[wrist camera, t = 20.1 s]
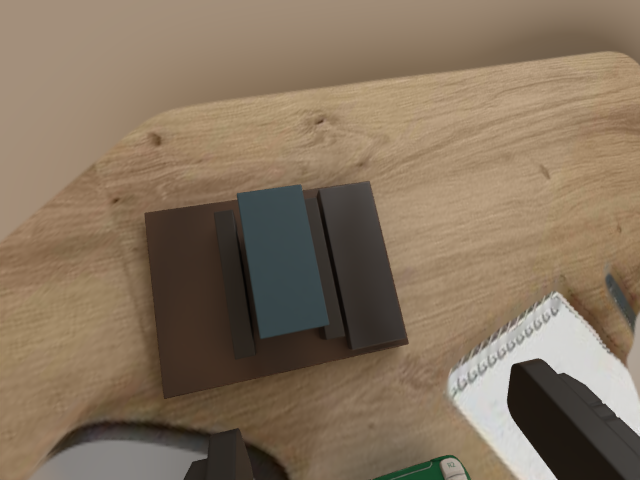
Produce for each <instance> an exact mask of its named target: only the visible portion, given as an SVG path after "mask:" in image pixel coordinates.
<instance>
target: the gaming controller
mask: <svg viewBox="0 0 640 480" xmlns="http://www.w3.org/2000/svg"><path fill="white" fill-rule="evenodd" d="M370 480H371V479H370ZM373 480H471V478H470V476H469V474H468V472H467V471H466V469H465V467H464V466H463V465H462V463H461V462H460V461H459V460H458V458H456V457H455V456H453V455H446V456H442V457H438V458H435V459H432V460H430V461H428V462H424V463H421V464H418V465H414V466H411V467H408V468H405V469H402V470H399V471H396V472H393V473H390V474H387V475H384V476H381V477H378V478H375V479H373Z"/></svg>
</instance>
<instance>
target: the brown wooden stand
mask: <svg viewBox="0 0 640 480" xmlns="http://www.w3.org/2000/svg"><path fill="white" fill-rule="evenodd" d="M303 196H304V201H305V206H306V211H307V216H308V221H309V226H310V231H311V236H312V241H313V246H314V251H315V256H316V261H317V266H318V271H319V276H320V281H321V286H322V291H323V296H324V300H325V305H326V310H327V315H328V320H329V325H327V326H322V327H318V328H313V329H308V330H303V331H298V332H293V333H289V334H284V335H279V336H274V337H269V338H265V339H260V335H259V329H258V323H257V316H256V310H255V304H254V298H253V292H252V286H251V279H250V273H249V267H248V261H247V255H246V249H245V243H244V236H243V230H242V224H241V218H240V212H239V206H238V200H232V201H225V202H218V203H211V204H204V205H197V206H190V207H183V208H176V209H169V210H162V211H155V212H148V213H145V223H146V233H147V242H148V251H149V261H150V270H151V280H152V289H153V299H154V308H155V318H156V327H157V337H158V346H159V355H160V365H161V374H162V384H163V393H164V399H166V398H171V397H175V396H180V395H184V394H189V393H193V392H198V391H202V390H207V389H211V388H215V387H220V386H224V385H229V384H233V383H238V382H242V381H247V380H251V379H256V378H260V377H265V376H269V375H273V374H278V373H282V372H287V371H291V370H296V369H300V368H305V367H309V366H314V365H318V364H323V363H327V362H331V361H336V360H340V359H345V358H349V357H354V356H358V355H363V354H367V353H372V352H376V351H381V350H385V349H389V348H394V347H398V346H403V345H407V344H409V342H408V338H407V334H406V330H405V326H404V321H403V317H402V313H401V309H400V305H399V301H398V297H397V292H396V288H395V284H394V280H393V276H392V272H391V268H390V263H389V259H388V255H387V251H386V247H385V243H384V239H383V234H382V230H381V226H380V222H379V218H378V214H377V210H376V205H375V201H374V197H373V193H372V189H371V185H370V181H366V182H359V183H352V184H345V185H338V186H331V187H324V188H317V189H310V190H303Z"/></svg>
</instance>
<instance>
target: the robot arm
mask: <svg viewBox="0 0 640 480" xmlns="http://www.w3.org/2000/svg"><path fill="white" fill-rule="evenodd" d="M507 404H508V409H509V412H510V414H511V416H512V418H513V420H514V422H515V423H516V424H517V426H518V427H519V428H520V430H521V431H522V432H523V434H524V435H525V436H526V438H527V439H528V440H529V442H530V443H531V444H532V446H533V447H534V449H535V450H536V451H537V453H538V454H539V455H540V457H541V458H542V459H543V461H544V462H545V463H546V465H547V466H548V467H549V469H550V470H551V471H552V473H553V474H554V475H555V477H556V478H557V479H558V480H640V437H639V436H638V435H637V434H636V433H635V432H634V431H633V430H632V429H631V428H630V427H629V426H628V425H627V424H626V423H625V422H624V421H623V420H621V419H620V418H619V417H616V414H615V413H614V412H613V411H612V410H611V409H610V408H609V407H608V406H607V405H606V404H603V403H602V400H600V399H599V398H598V397H597V396H596V395H595V394H594V393H593V392H592V391H591V390H590V389H589V388H588V387H587V386H586V385H585V384H583V383H581V382H579V381H578V380H576V379H574V378H572V377H571V376H569V375H567V374H565V373H561V374H557V373H556V372H555V371H554V370H553V369H552V368H551V367H550V366H549V365H548V364H547V363H546V362H545V361H544V360H542V359H539V358H538V359H533V360H529V361H524V362H520V363H516V364H513V365H512V367H511V373H510V381H509V388H508V396H507ZM184 480H253V474H252V468H251V463H250V460H249V457H248V454H247V451H246V447H245V444H244V441H243V438H242V435H241V432H240V430H239V429H238V428H237V429H233V430H229V431H225V432H220V433H216V434H212V435H211V436H210V439H209V448H208V458H207V459H203V460H198V461H194V462H192V464H191V466H190V468H189V470H188V472H187V474H186V476H185V478H184Z"/></svg>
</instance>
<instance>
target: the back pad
mask: <svg viewBox="0 0 640 480" xmlns="http://www.w3.org/2000/svg"><path fill="white" fill-rule="evenodd" d="M237 199H238V206H239V212H240V218H241V224H242V230H243V236H244V243H245V249H246V255H247V261H248V267H249V273H250V279H251V286H252V292H253V298H254V304H255V310H256V316H257V323H258V329H259V335H260V339H265V338H269V337H274V336H279V335H284V334H289V333H293V332H298V331H303V330H308V329H313V328H318V327H322V326H327V325H329V320H328V315H327V310H326V305H325V300H324V296H323V291H322V286H321V281H320V276H319V271H318V266H317V261H316V256H315V251H314V246H313V241H312V236H311V231H310V226H309V221H308V216H307V211H306V206H305V201H304V196H303V191H302V186H301V185H293V186H286V187H279V188H272V189H265V190H258V191H250V192H243V193H237Z"/></svg>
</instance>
